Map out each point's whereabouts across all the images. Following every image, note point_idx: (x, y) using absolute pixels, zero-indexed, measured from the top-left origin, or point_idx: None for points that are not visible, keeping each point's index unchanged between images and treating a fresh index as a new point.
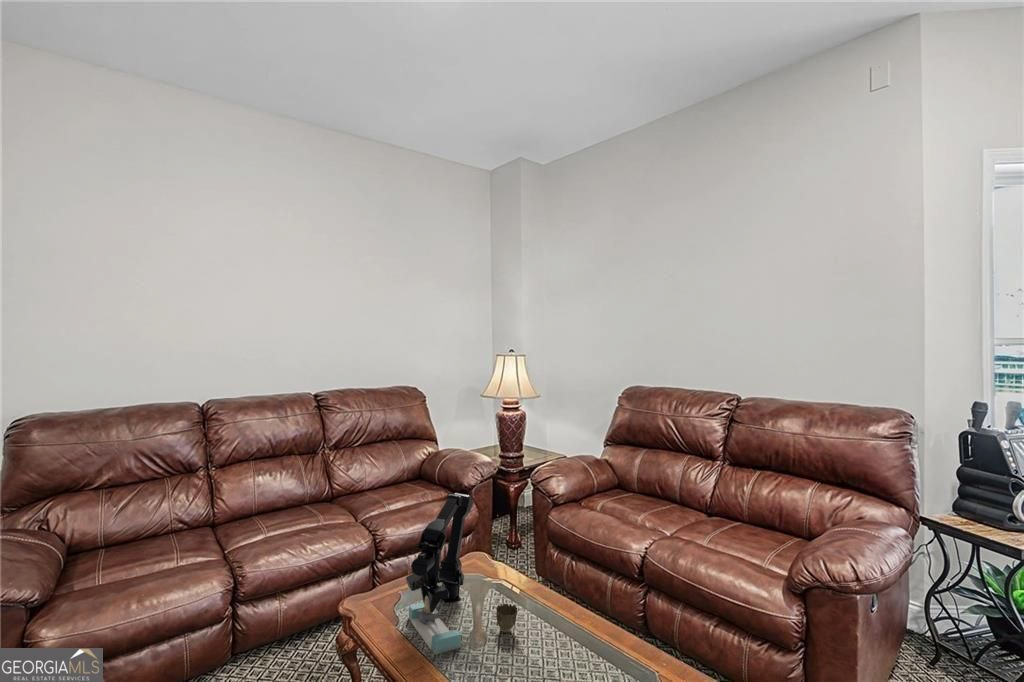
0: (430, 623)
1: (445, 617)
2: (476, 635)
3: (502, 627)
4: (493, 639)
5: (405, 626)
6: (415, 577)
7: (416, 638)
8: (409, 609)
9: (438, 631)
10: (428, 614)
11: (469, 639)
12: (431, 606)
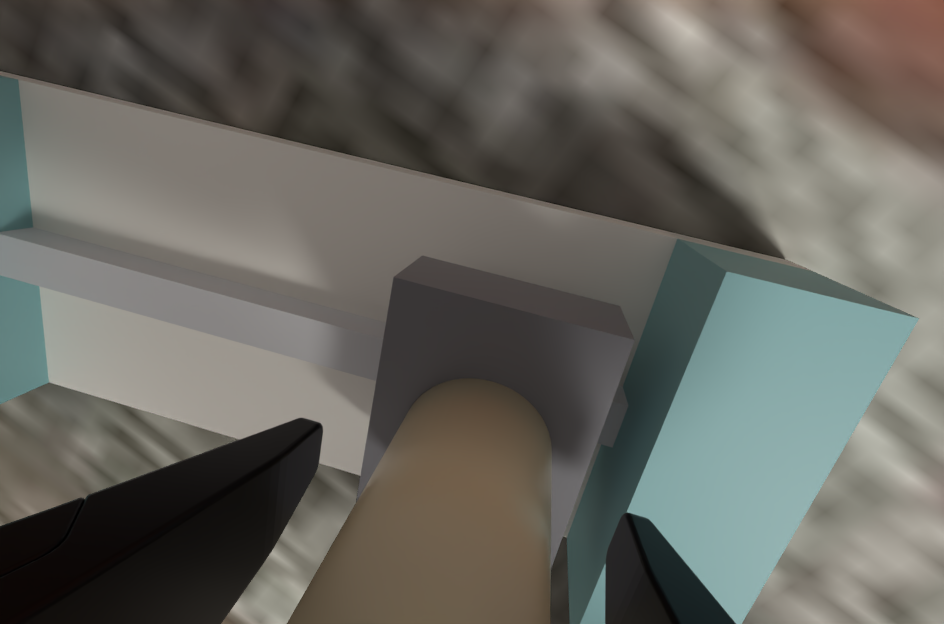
0: (359, 340)
1: None
2: None
3: None
4: None
5: (649, 106)
6: None
7: (325, 71)
8: (851, 293)
9: (162, 305)
10: (392, 393)
11: (89, 478)
12: (155, 489)
